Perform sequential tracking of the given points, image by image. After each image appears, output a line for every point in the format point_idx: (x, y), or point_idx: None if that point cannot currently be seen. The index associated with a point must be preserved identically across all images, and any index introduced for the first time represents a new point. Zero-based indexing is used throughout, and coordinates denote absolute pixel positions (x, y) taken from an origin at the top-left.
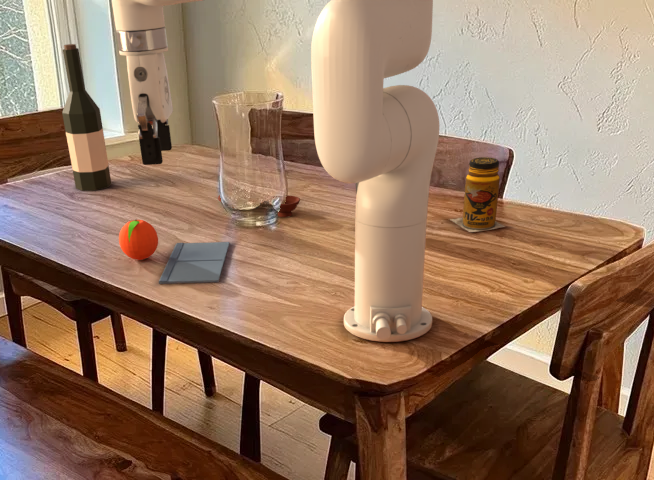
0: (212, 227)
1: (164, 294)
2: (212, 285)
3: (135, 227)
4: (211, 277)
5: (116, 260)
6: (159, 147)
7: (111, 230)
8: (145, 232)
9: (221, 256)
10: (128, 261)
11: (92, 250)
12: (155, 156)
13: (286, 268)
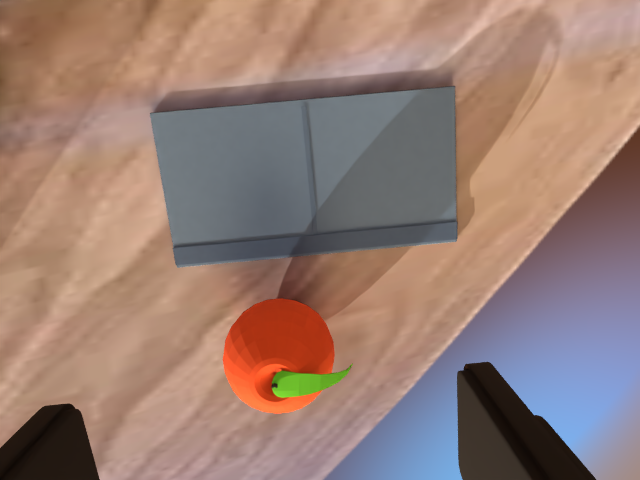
0: (7, 197)
1: (519, 210)
2: (471, 99)
3: (310, 372)
4: (436, 109)
5: None
6: (545, 437)
7: None
8: (310, 337)
9: (275, 113)
10: None
11: (228, 458)
12: (543, 421)
13: None
